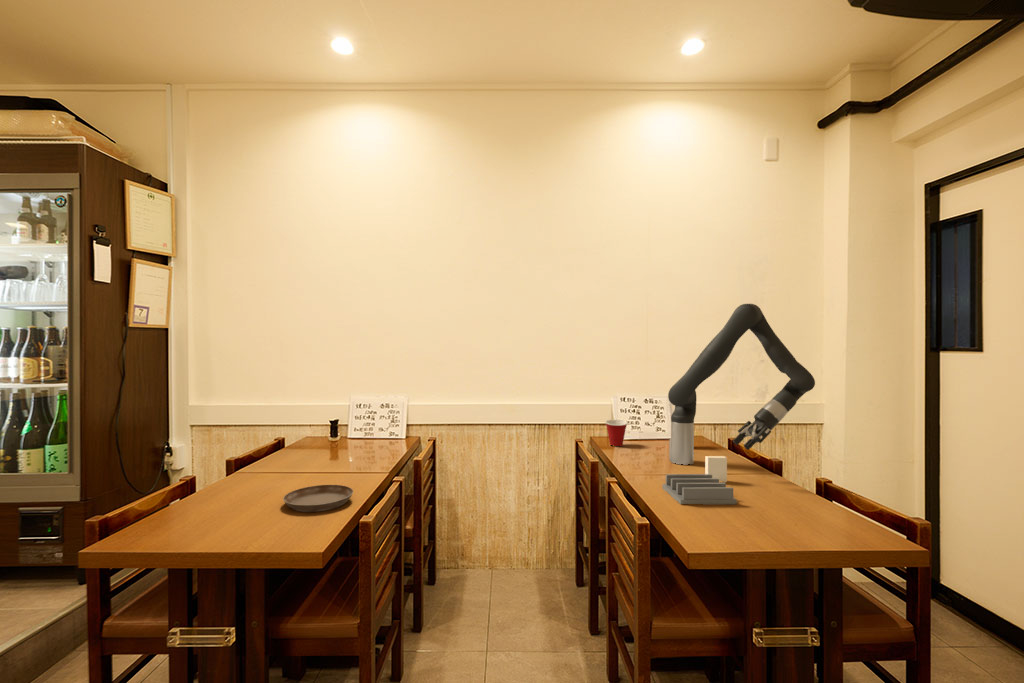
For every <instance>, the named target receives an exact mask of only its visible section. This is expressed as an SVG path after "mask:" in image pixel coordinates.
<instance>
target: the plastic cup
mask: <svg viewBox="0 0 1024 683" xmlns="http://www.w3.org/2000/svg"><path fill="white" fill-rule="evenodd" d="M628 424H629V423H628V421H626V420H624V419H608V420H607V419H606V420H605V425H606V428H607V434H608V435H607V436H608V440H609V445H610V444H611V445H614V446H622V447H623V444H624V439H625V434H626V428H627V426H628Z"/></svg>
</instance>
